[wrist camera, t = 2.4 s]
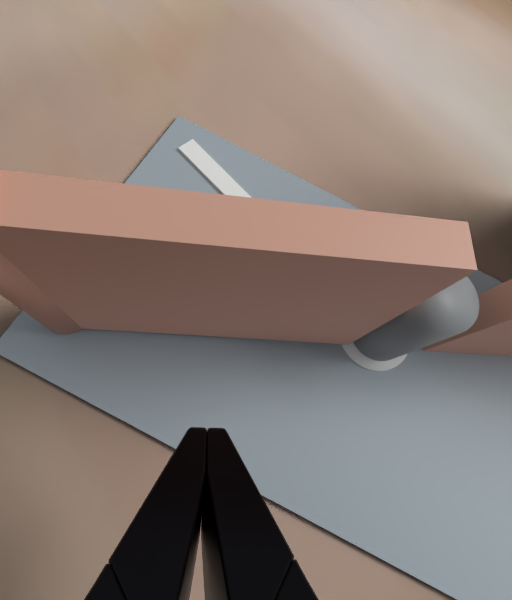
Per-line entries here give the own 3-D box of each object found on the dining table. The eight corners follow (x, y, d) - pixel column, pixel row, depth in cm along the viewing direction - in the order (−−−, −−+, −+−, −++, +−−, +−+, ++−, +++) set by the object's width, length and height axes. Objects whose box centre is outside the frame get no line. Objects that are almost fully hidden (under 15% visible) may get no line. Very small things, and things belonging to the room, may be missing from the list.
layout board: (535, 641, 15) (543, 646, 15) (-7, 350, 16) (-12, 349, 15) (581, 325, 20) (587, 323, 20) (178, 118, 21) (178, 113, 21)
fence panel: (401, 306, 18) (573, 200, 10) (408, 362, 18) (604, 297, 9) (49, 279, 16) (-105, 115, 8) (35, 342, 15) (-158, 232, 7)
